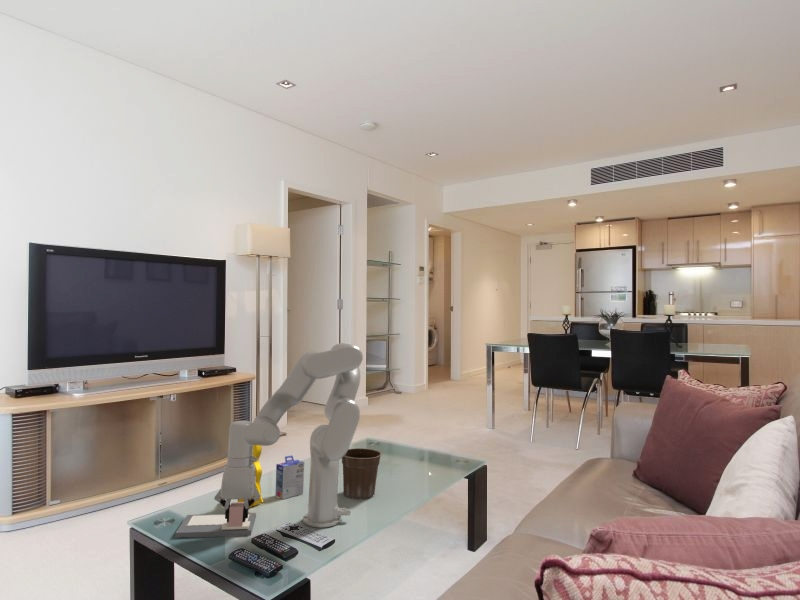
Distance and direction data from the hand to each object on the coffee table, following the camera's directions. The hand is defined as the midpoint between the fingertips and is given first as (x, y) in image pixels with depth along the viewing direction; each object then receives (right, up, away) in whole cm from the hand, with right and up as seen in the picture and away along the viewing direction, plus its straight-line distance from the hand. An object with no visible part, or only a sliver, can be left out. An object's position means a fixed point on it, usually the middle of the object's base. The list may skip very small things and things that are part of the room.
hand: (236, 520), depth 153 cm
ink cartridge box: (+9, -6, +35) cm, 37 cm away
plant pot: (+35, -8, +39) cm, 53 cm away
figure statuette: (-3, -5, +23) cm, 24 cm away
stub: (0, -2, 0) cm, 2 cm away
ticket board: (-7, -4, +3) cm, 9 cm away
